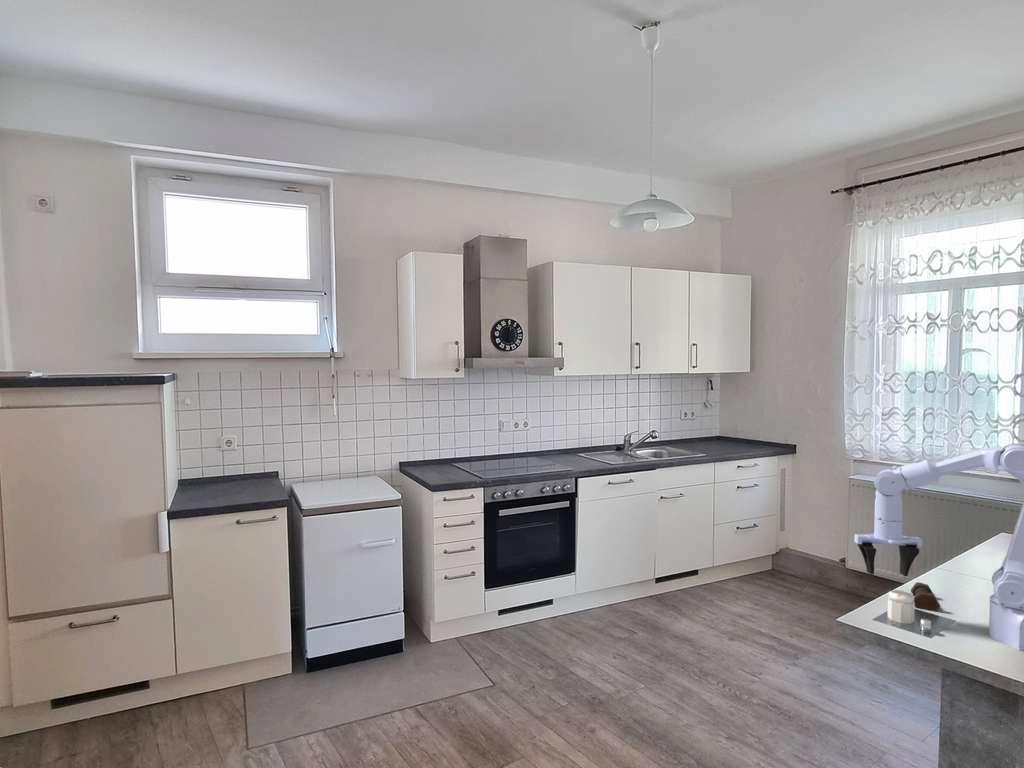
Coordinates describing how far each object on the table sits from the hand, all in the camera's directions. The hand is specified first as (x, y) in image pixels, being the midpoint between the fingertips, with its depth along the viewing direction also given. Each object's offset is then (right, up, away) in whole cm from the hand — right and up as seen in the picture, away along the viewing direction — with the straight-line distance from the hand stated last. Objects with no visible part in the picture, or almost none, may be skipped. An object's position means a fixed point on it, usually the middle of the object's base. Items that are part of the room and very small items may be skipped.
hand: (887, 573), depth 144 cm
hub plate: (+3, -11, -5) cm, 12 cm away
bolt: (+15, -11, +8) cm, 20 cm away
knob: (+1, -10, -4) cm, 10 cm away
